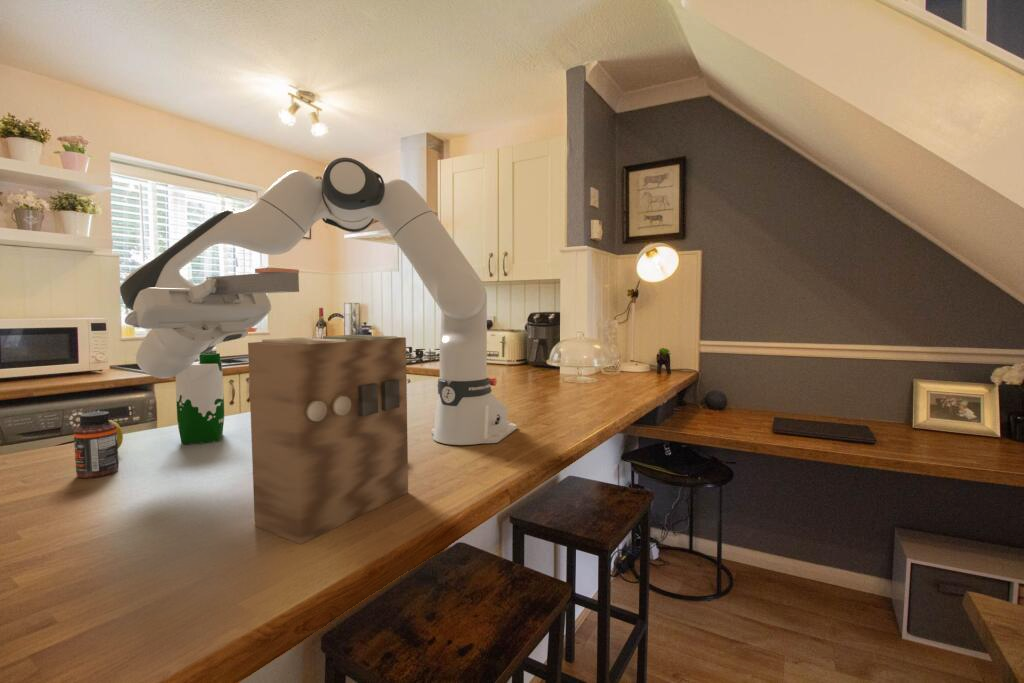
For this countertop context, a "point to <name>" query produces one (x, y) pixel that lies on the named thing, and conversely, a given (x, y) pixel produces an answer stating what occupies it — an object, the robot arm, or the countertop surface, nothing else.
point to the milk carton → (201, 400)
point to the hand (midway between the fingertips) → (228, 282)
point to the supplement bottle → (96, 445)
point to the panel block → (326, 430)
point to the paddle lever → (259, 282)
